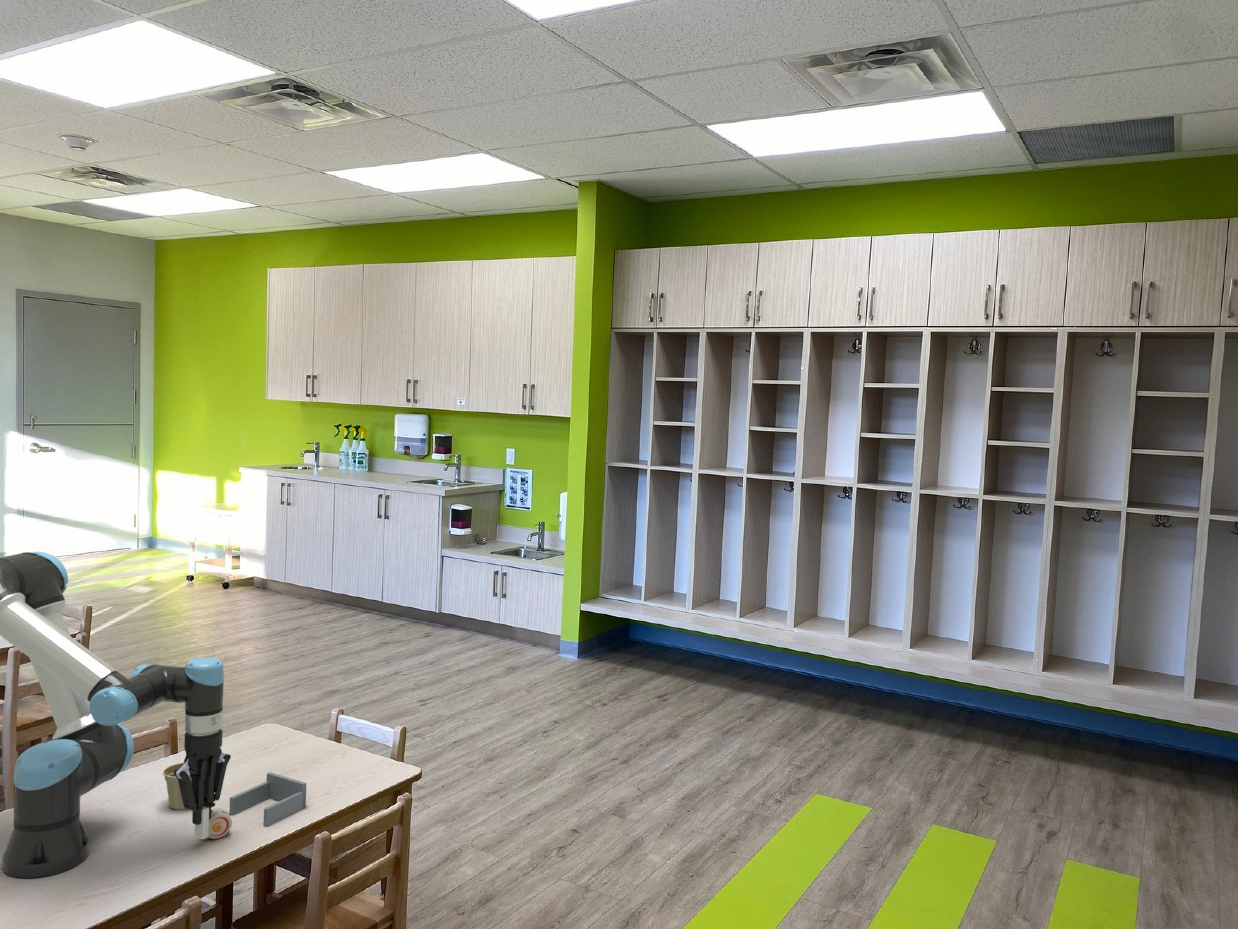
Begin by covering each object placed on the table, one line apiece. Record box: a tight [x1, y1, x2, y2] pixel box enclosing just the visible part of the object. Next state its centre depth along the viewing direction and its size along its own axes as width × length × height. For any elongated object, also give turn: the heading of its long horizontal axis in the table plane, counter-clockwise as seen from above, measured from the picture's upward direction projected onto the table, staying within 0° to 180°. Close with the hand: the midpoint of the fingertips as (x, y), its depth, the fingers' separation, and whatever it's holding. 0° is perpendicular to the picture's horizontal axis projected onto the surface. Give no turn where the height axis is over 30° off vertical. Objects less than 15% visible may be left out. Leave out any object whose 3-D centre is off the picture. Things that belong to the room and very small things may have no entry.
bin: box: [228, 771, 307, 827], centre depth 214 cm, size 12×12×6 cm
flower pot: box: [162, 761, 192, 811], centre depth 215 cm, size 9×9×9 cm
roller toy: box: [204, 807, 233, 840], centre depth 200 cm, size 4×6×6 cm
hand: (201, 836), depth 197 cm, fingers closed
